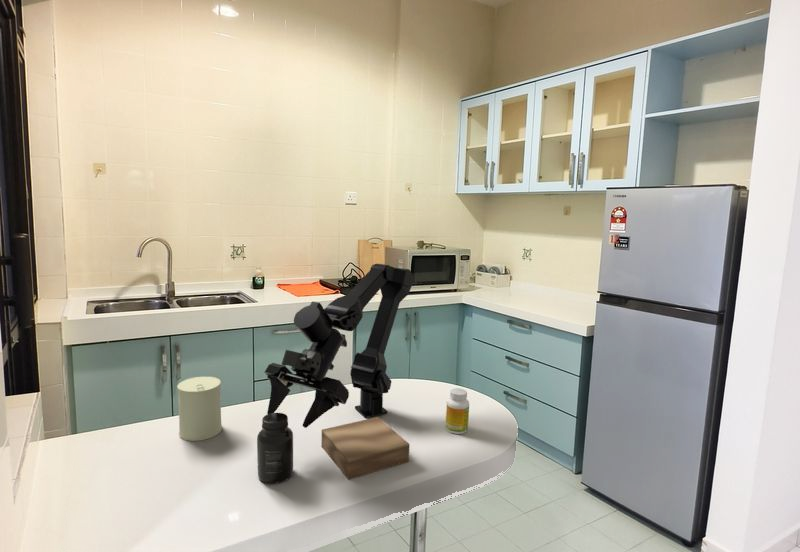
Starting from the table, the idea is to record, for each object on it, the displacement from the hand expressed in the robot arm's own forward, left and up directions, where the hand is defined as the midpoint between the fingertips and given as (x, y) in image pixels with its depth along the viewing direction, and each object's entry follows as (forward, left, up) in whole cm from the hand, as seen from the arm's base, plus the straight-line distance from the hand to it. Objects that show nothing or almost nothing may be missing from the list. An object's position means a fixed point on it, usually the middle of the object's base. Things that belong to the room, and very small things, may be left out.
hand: (286, 420), depth 95 cm
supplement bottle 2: (+2, +41, -10) cm, 43 cm away
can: (-24, -13, -10) cm, 29 cm away
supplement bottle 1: (+1, -3, -10) cm, 11 cm away
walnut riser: (+2, +16, -10) cm, 19 cm away
